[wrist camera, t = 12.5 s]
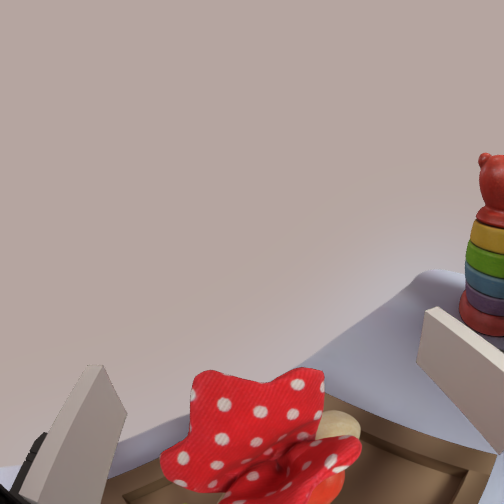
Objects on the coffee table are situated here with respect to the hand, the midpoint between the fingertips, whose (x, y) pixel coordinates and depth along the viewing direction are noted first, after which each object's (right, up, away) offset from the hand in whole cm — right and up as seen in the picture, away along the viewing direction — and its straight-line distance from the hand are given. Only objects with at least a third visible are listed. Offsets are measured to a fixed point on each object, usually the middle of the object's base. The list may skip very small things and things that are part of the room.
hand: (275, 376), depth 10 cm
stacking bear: (+27, -3, +13) cm, 30 cm away
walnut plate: (+2, -10, -1) cm, 10 cm away
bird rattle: (0, -9, -1) cm, 9 cm away
